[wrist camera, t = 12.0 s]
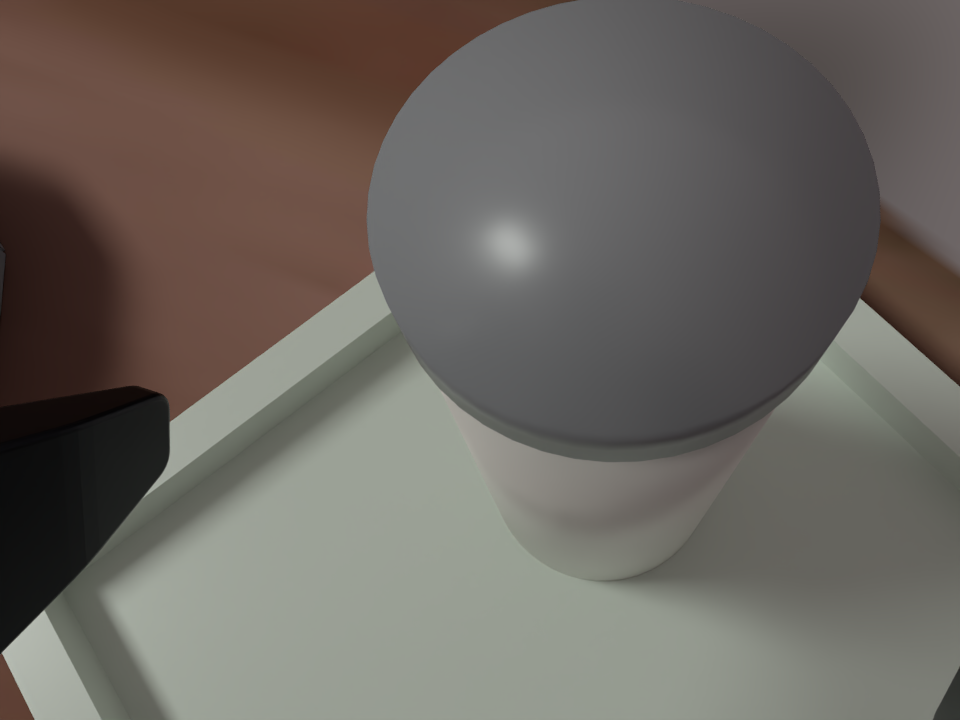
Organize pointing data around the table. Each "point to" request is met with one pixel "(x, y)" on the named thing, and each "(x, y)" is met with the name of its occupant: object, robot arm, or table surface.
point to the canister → (620, 260)
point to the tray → (510, 561)
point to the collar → (1, 271)
